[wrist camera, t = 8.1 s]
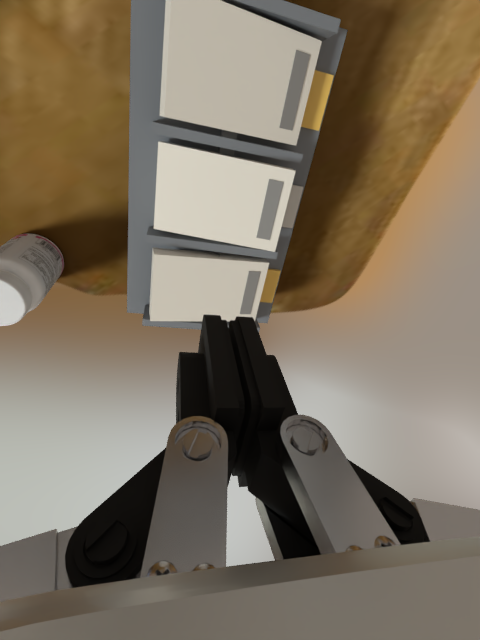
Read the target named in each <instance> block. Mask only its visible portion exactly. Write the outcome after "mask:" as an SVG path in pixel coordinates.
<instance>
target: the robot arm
mask: <svg viewBox="0 0 480 640" xmlns="http://www.w3.org/2000/svg"><path fill="white" fill-rule="evenodd" d="M231 473H232V475H233V476H238V482H239V487H245V486H248V491H249V492H251V493H252V494H253V495H254V496H255V497H256V505H257V509H258V512H259V515H260V518H261V520H262V523H263V526H264V529H265V532H266V535H267V538H268V540H269V544H270V547H271V550H272V553H273V556H274V559H275V561H269V562H261V563H252V564H245V565H237V566H229V567H226V528H227V487H228V484H229V480H230V476H231ZM0 640H480V510H477V509H471V508H465V507H460V506H454V505H449V504H444V503H438V502H432V501H427V500H421V499H415V498H413V500H412V501H409V500H407V499H406V498H405V497H404V496H402V495H401V494H400V493H398V492H397V491H395V490H394V489H392V488H391V487H389V486H388V485H386V484H385V483H383V482H382V481H380V480H378V479H377V478H375V477H374V476H372V475H371V474H369V473H368V472H366V471H365V470H363V469H361V468H360V467H359V466H357V465H355V464H354V463H352V462H351V461H349V460H348V459H347V458H346V457H345V455H344V454H343V452H342V450H341V449H340V447H339V446H338V444H337V443H336V441H335V439H334V438H333V436H332V435H331V433H330V432H329V430H328V429H327V428H326V427H325V426H324V425H323V424H322V423H321V422H319V421H318V420H316V419H314V418H312V417H309V416H305V415H298V413H297V411H296V408H295V405H294V403H293V400H292V398H291V395H290V393H289V390H288V388H287V385H286V382H285V380H284V377H283V375H282V372H281V369H280V367H279V365H278V362H277V359H276V357H275V356H273V355H266V352H265V349H264V346H263V344H262V341H261V338H260V335H259V332H258V330H257V327H256V324H255V321H254V319H253V317H239V316H237V317H236V319H235V320H230V322H229V327H228V325H227V321H226V320H221V316H220V315H206V314H204V315H203V320H202V328H201V335H200V343H199V350H198V353H187V352H180V353H179V359H178V370H177V387H176V425H175V426H174V427H173V428H172V430H171V432H170V435H169V437H168V442H167V447H166V448H165V449H164V450H163V451H162V452H161V453H160V454H158V455H157V456H156V457H155V458H154V459H153V460H151V461H150V462H149V463H148V464H147V465H146V466H145V467H143V468H142V469H141V470H140V471H139V472H138V473H137V474H136V475H134V476H133V477H132V478H131V479H130V480H129V481H127V482H126V483H125V484H124V485H123V486H122V487H121V488H120V489H118V490H117V491H116V492H115V493H114V494H112V495H111V496H110V497H109V498H108V499H107V500H106V501H104V502H103V503H102V504H101V505H100V506H99V507H98V508H96V509H95V510H94V511H93V512H92V513H91V514H90V515H88V516H87V517H86V518H85V519H84V520H83V521H82V522H81V524H79V526H78V527H74V528H71V529H68V530H65V531H62V532H59V533H57V529H55V530H51V531H48V532H45V533H42V534H38V535H36V536H32V537H29V538H26V539H22V540H19V541H16V542H12V543H9V544H6V545H3V546H0Z"/></svg>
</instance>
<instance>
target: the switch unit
mask: <svg viewBox="0 0 480 640" xmlns="http://www.w3.org/2000/svg"><path fill="white" fill-rule="evenodd" d="M221 1H224V2H226V3H229V4H231V5H234V6H236V7H239V8H241V9H243V10H246V11H248V12H251V13H253V14H256V15H258V16H261V17H263V18H266V19H268V20H271V21H273V22H276V23H278V24H281V25H283V26H286V27H288V28H291V29H293V30H296V31H298V32H301V33H303V34H306V35H308V36H310V37H313V38H315V39H318V40H320V41H322V43H321V47H320V51H319V55H318V59H317V63H316V67H315V71H314V75H313V80H312V84H311V88H310V92H309V96H308V100H307V104H306V108H305V112H304V116H303V120H302V124H301V128H300V132H299V136H298V140H297V144H296V146H295V145H290V144H286V143H281V142H277V141H272V140H267V139H263V138H258V137H254V136H249V135H245V134H240V133H235V132H231V131H226V130H222V129H217V128H213V127H208V126H203V125H199V124H194V123H190V122H185V121H181V120H176V119H172V118H167V117H163V116H160V97H161V79H162V60H163V41H164V22H165V3H166V0H131V51H130V128H129V205H128V282H127V312H130V313H143V314H144V315H143V326H144V325H145V326H159V327H173V328H187V329H201V328H202V321H150V315H149V307H150V288H151V269H152V250H153V248H165V249H178V250H190V251H202V252H207V251H212V252H216V253H227V254H238V255H246V256H253V257H261V258H265V259H266V260H267V261H268V262H269V267H268V271H267V275H266V279H265V283H264V287H263V291H262V295H261V299H260V303H259V307H258V311H257V315H256V319H255V324H256V327H257V330H258V332H259V329H260V327H259V324H258V322H259V323H267V322H268V319H269V315H270V312H271V308H272V304H273V301H274V297H275V293H276V290H277V286H278V282H279V279H280V275H281V272H282V268H283V264H284V261H285V257H286V253H287V250H288V246H289V242H290V239H291V235H292V231H293V228H294V224H295V220H296V217H297V213H298V209H299V206H300V202H301V199H302V195H303V191H304V188H305V184H306V180H307V177H308V173H309V169H310V166H311V162H312V158H313V155H314V151H315V147H316V144H317V140H318V136H319V133H320V129H321V126H322V122H323V118H324V115H325V111H326V107H327V104H328V100H329V96H330V93H331V89H332V85H333V82H334V78H335V74H336V71H337V67H338V63H339V60H340V56H341V52H342V49H343V45H344V42H345V38H346V34H347V31H348V30H346V29H343V28H340V27H339V25H340V21H341V19H338V18H335V17H332V16H329V15H326V14H323V13H320V12H317V11H314V10H311V9H308V8H305V7H302V6H299V5H296V4H293V3H290V2H287V1H284V0H221ZM158 141H165V142H170V143H175V144H179V145H184V146H189V147H193V148H198V149H203V150H207V151H212V152H217V153H221V154H227V155H232V156H235V157H240V158H245V159H249V160H254V161H259V162H263V163H268V164H273V165H277V166H282V167H287V168H291V169H294V170H295V171H296V172H295V176H294V180H293V184H292V187H291V191H290V195H289V199H288V203H287V207H286V211H285V215H284V219H283V223H282V227H281V231H280V235H279V238H278V242H277V246H276V250H275V252H273V251H267V250H262V249H257V248H251V247H246V246H241V245H236V244H230V243H225V242H220V241H215V240H209V239H204V238H199V237H194V236H188V235H183V234H178V233H173V232H167V231H162V230H157V229H154V213H155V194H156V175H157V156H158ZM227 325H228V327H229V322H227Z"/></svg>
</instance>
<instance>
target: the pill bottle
mask: <svg viewBox="0 0 480 640" xmlns="http://www.w3.org/2000/svg"><path fill="white" fill-rule="evenodd" d="M63 268H64V259H63V255H62V253H61V251H60V250H59V248H58V247H57V246H56V245H55V244H54V243H53V242H52V241H50V240H49V239H47V238H45V237H43V236H40V235H36V234H21V235H18V236H15V237H14V238H12V239H10V240H9V241H8V242H6V243H5V244H4V245H2V246H1V247H0V326H7V325H12V324H14V323H16V322H18V321H19V320H21V319H22V318H23V316H25V314H26V313H27V312H29V311H31V310H33V309H35V308H36V307H37V306H38V305H39V304H40V303H41V301H42V300H43V298H44V297H45V296H46V294H47V293H48V292H49V290H50V288H51V287H52V286H53V285H54V283H55V282H56V281H57V279H58V278H59V277H60V275H61V273H62V271H63Z"/></svg>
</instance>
